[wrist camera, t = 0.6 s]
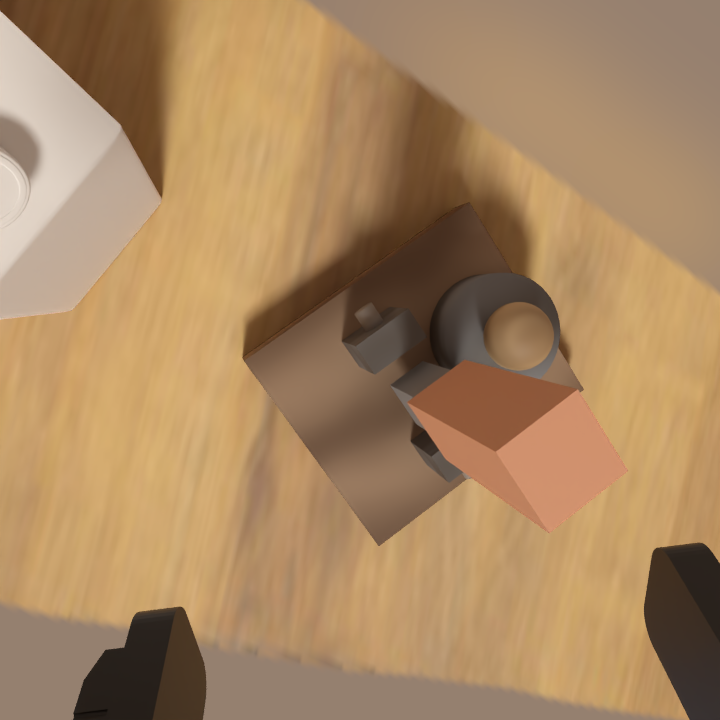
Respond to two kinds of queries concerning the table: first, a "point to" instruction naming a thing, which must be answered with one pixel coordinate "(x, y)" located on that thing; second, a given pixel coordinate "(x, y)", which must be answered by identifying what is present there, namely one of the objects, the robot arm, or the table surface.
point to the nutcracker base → (404, 362)
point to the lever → (514, 436)
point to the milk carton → (59, 184)
